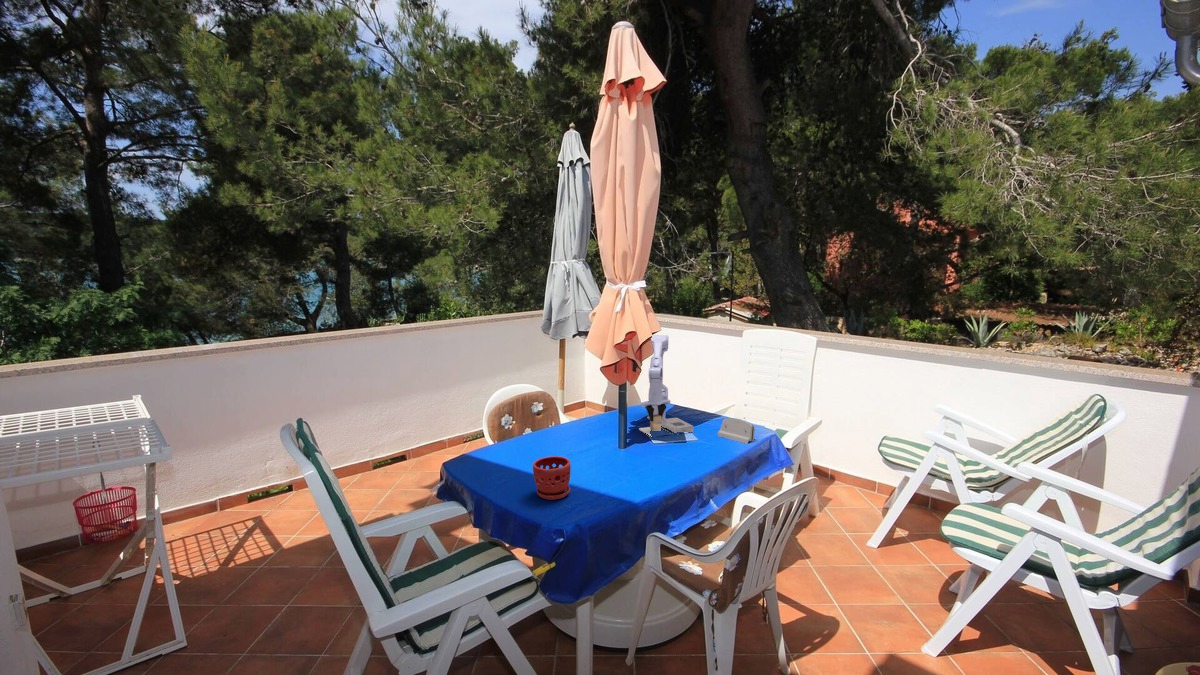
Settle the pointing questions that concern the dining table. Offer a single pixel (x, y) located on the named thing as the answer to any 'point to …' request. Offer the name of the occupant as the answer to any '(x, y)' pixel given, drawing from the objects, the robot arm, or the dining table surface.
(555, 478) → the plant pot
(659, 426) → the peg
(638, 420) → the dining table surface
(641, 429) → the pad
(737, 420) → the hinge
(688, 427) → the white frame
